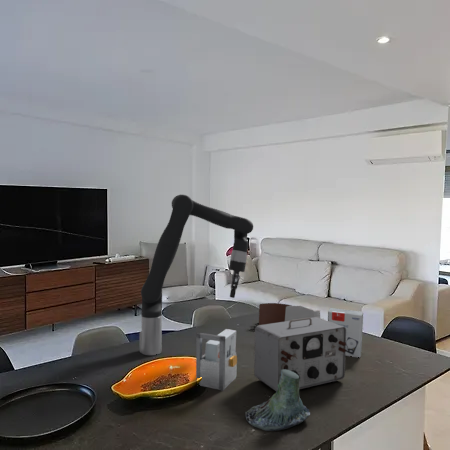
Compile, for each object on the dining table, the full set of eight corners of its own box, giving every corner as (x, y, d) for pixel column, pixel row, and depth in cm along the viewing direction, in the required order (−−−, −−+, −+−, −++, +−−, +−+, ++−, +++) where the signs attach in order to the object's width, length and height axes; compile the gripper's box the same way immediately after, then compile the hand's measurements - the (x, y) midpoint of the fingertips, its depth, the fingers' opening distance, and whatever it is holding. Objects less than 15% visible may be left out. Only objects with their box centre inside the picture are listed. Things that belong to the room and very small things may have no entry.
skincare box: (216, 385, 164) (216, 344, 163) (203, 383, 166) (203, 342, 165) (236, 366, 183) (236, 329, 182) (224, 364, 185) (224, 328, 184)
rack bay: (196, 384, 164) (196, 333, 163) (211, 372, 176) (212, 324, 175) (224, 391, 159) (225, 338, 158) (238, 377, 171) (239, 328, 170)
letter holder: (294, 329, 237) (294, 304, 236) (258, 327, 241) (259, 302, 240) (295, 324, 246) (295, 300, 246) (260, 322, 250) (261, 298, 250)
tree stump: (245, 403, 150) (258, 354, 150) (301, 421, 148) (314, 371, 148) (242, 428, 132) (258, 373, 131) (306, 448, 130) (322, 392, 130)
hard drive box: (326, 353, 200) (327, 311, 199) (328, 348, 207) (329, 307, 206) (360, 358, 194) (362, 314, 193) (362, 352, 201) (363, 310, 200)
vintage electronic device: (280, 400, 152) (282, 331, 151) (254, 381, 168) (255, 318, 167) (348, 383, 167) (350, 320, 165) (317, 367, 183) (319, 309, 181)
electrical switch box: (321, 346, 216) (324, 306, 218) (311, 350, 204) (314, 307, 205) (294, 340, 224) (297, 302, 226) (282, 344, 212) (286, 303, 213)
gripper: (229, 260, 209) (223, 295, 207) (231, 259, 196) (225, 297, 193) (244, 262, 209) (238, 298, 207) (247, 261, 196) (241, 299, 194)
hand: (232, 297), depth 200 cm, fingers closed
